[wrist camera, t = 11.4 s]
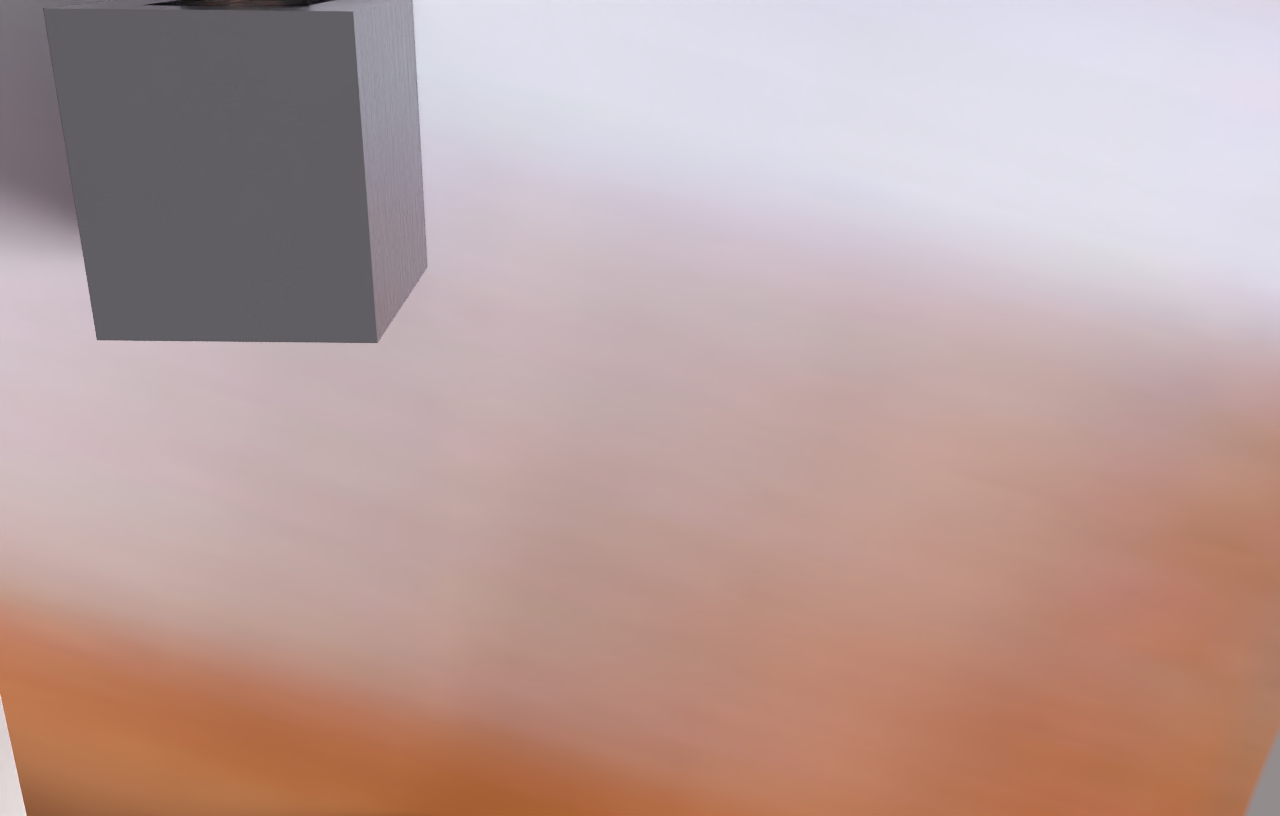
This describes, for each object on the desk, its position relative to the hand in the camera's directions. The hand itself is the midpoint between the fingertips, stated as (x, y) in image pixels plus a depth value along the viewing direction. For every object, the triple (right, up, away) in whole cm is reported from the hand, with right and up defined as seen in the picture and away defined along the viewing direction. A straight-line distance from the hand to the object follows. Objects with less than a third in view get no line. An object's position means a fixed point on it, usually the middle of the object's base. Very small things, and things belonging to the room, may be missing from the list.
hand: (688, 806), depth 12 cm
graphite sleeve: (-12, +13, +29) cm, 34 cm away
